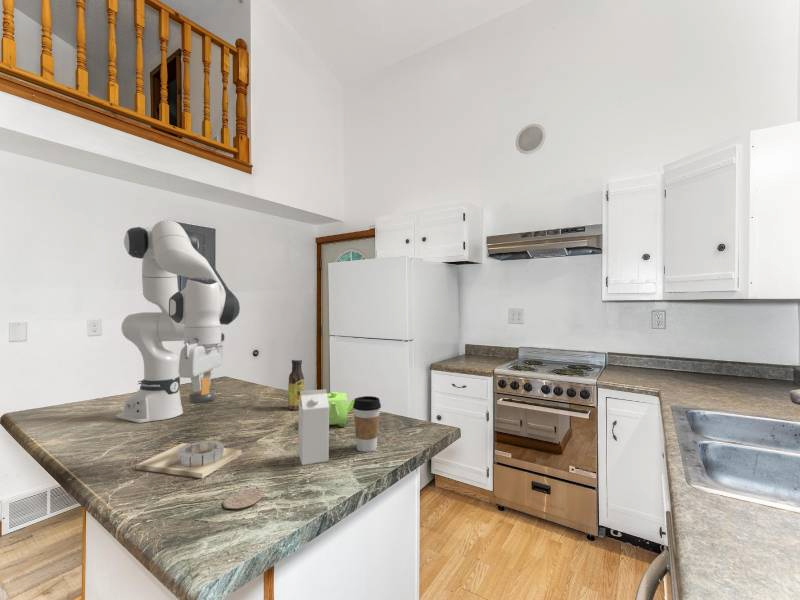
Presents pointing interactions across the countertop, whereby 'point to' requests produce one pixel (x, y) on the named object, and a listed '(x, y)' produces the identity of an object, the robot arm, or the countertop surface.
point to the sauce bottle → (295, 384)
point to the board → (169, 465)
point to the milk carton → (313, 427)
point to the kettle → (338, 408)
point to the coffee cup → (366, 422)
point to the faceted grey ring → (192, 459)
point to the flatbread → (242, 499)
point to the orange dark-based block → (202, 393)
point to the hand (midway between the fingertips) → (201, 388)
